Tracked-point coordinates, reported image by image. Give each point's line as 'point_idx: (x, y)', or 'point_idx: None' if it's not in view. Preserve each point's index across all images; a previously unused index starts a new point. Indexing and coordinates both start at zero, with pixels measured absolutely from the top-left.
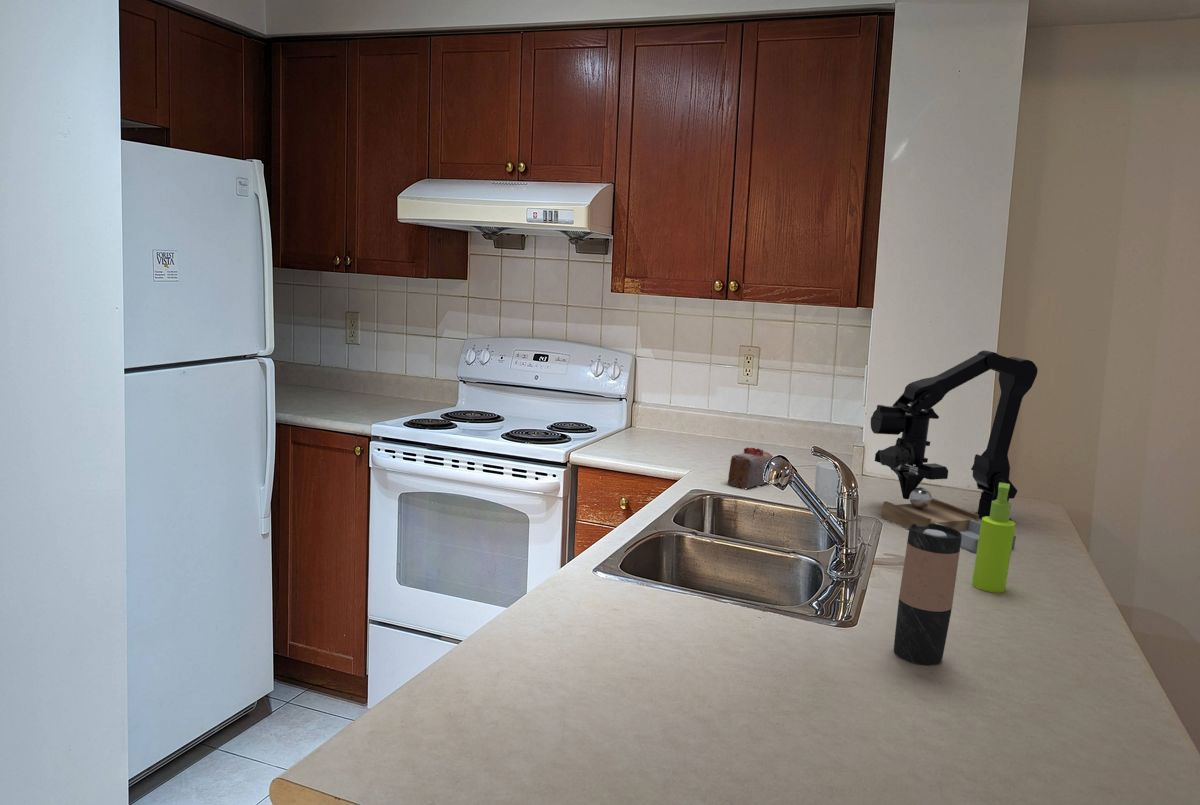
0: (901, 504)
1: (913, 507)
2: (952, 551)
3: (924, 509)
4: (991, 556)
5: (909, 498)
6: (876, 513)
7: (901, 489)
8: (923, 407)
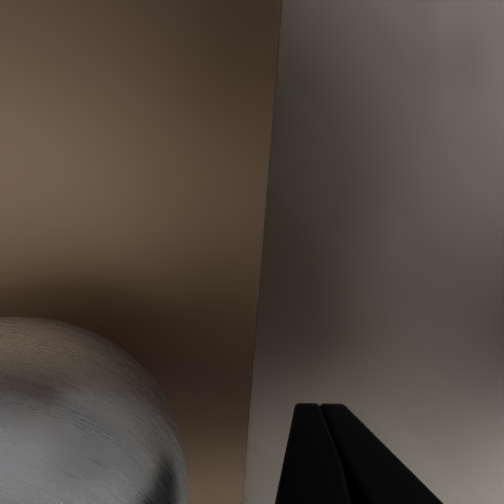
0: (257, 279)
1: (100, 333)
2: None
3: None
4: None
5: (129, 374)
6: (428, 42)
7: (429, 498)
8: None
